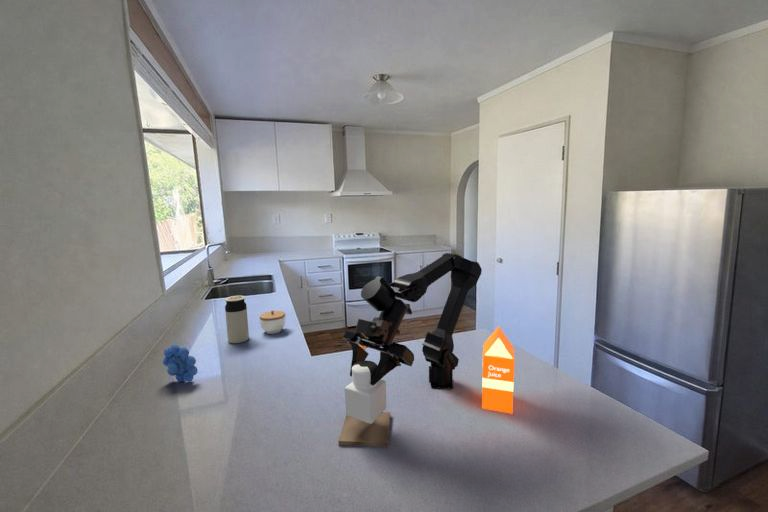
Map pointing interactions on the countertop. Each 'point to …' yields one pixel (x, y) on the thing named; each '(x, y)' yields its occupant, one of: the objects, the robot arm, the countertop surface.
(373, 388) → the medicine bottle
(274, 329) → the lidded jar
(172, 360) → the grapes
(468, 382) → the countertop surface
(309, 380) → the countertop surface
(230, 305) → the travel mug
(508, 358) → the orange juice
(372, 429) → the walnut board
